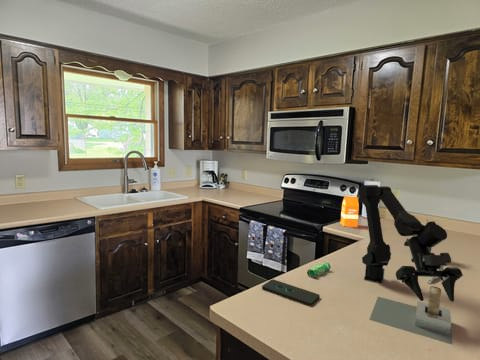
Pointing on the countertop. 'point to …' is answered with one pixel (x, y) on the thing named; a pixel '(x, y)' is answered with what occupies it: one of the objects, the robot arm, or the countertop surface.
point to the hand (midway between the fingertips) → (437, 301)
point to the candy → (318, 269)
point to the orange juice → (350, 211)
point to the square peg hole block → (433, 319)
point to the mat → (403, 318)
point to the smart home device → (291, 292)
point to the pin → (434, 300)
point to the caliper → (434, 277)
